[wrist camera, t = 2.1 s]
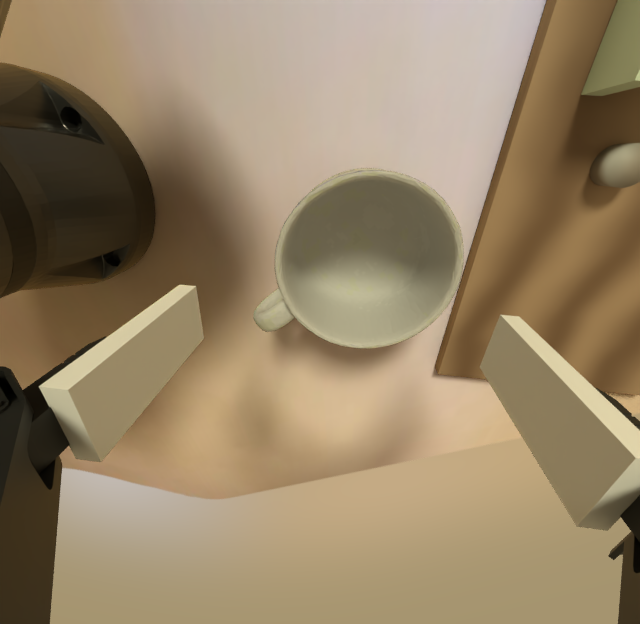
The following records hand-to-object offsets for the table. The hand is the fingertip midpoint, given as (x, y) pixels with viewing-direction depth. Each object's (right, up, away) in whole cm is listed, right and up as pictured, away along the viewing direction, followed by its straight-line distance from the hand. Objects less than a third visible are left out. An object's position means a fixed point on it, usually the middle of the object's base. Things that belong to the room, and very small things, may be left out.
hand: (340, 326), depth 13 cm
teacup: (+1, +6, +11) cm, 13 cm away
